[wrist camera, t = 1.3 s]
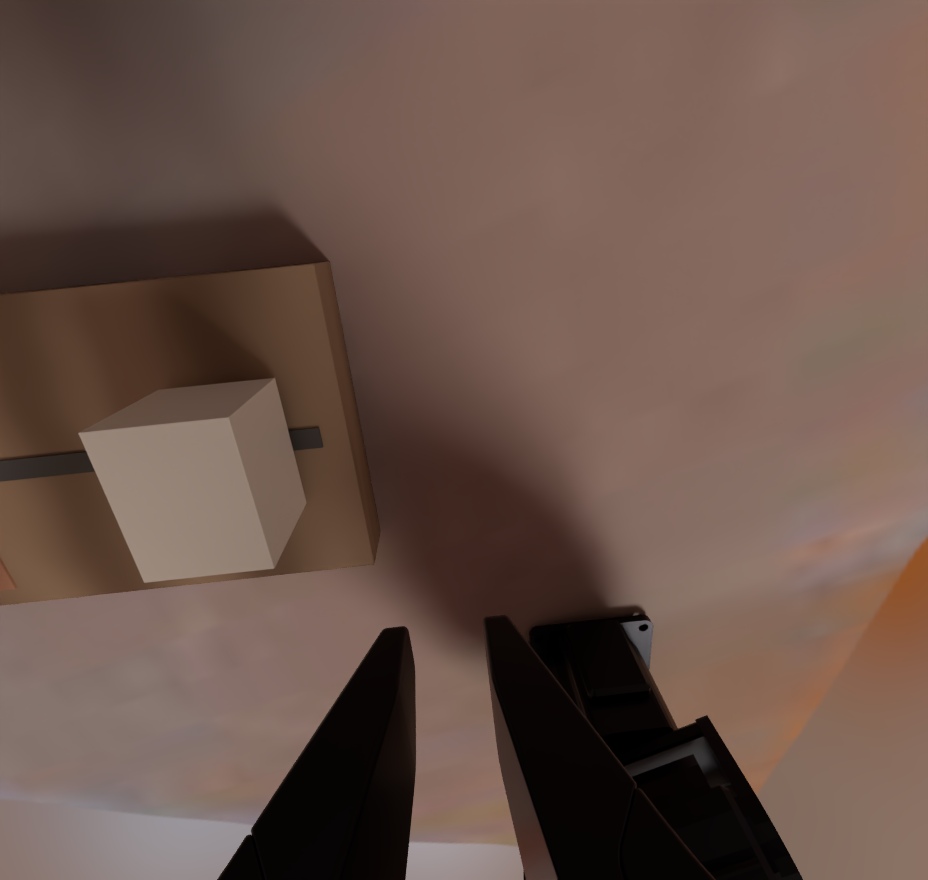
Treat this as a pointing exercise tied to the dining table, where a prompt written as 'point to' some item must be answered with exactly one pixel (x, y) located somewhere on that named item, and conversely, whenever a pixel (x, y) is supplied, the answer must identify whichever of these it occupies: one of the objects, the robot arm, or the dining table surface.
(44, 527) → the brown flat block
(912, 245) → the dining table surface
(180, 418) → the fader knob
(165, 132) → the dining table surface
